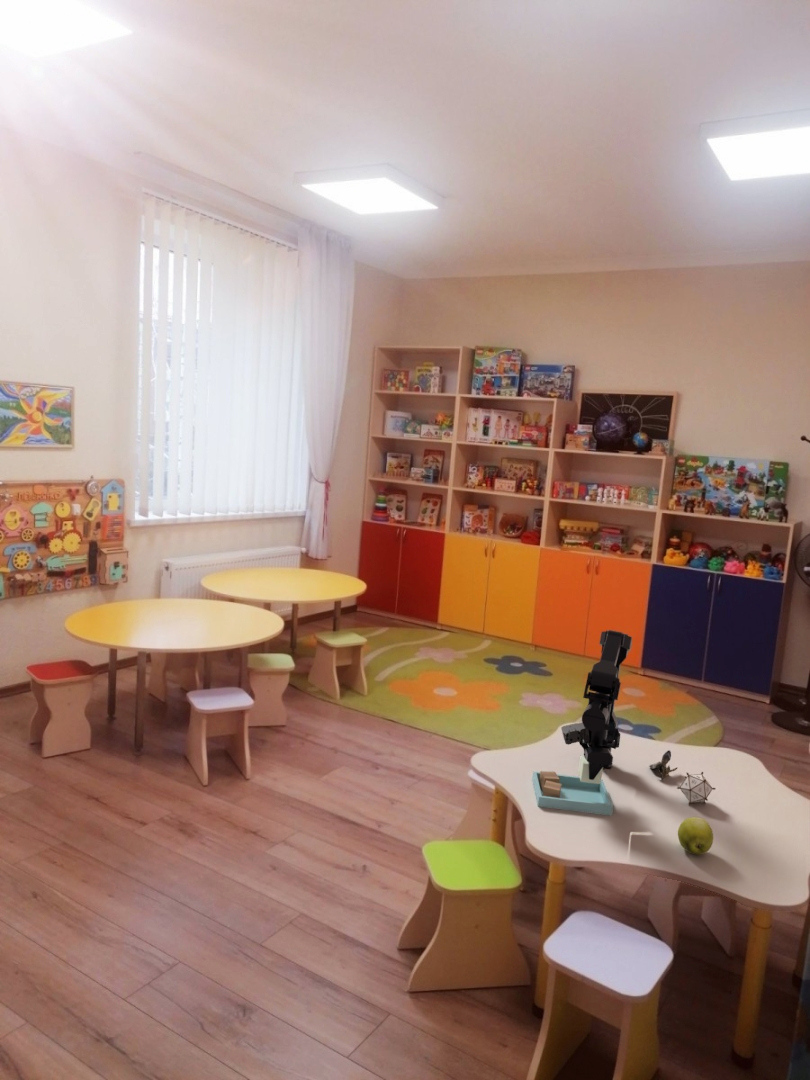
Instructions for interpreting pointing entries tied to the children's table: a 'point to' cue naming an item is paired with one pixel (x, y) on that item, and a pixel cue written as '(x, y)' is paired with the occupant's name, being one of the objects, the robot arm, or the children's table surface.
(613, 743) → the robot arm
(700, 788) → the game die
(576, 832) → the children's table surface
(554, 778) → the walnut block
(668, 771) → the eagle figurine
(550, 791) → the walnut block
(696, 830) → the apple
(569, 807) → the tray
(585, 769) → the sage block
